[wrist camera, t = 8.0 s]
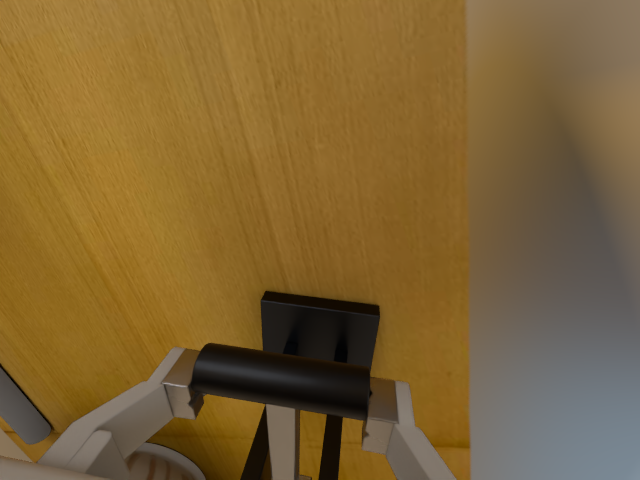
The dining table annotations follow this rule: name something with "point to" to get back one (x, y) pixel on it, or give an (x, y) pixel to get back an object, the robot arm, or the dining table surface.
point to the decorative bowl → (160, 464)
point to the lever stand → (313, 342)
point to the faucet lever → (283, 393)
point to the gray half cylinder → (21, 412)
